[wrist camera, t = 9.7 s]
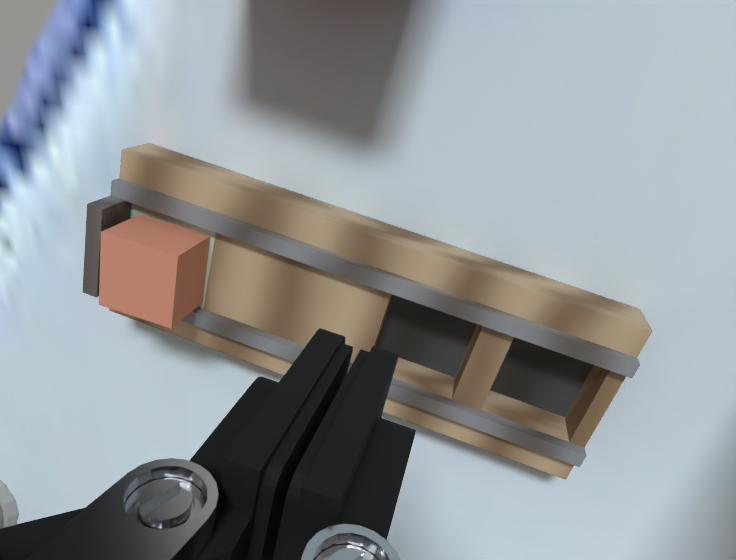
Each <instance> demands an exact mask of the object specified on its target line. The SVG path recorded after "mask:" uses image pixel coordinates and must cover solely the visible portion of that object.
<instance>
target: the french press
mask: <svg viewBox="0 0 736 560" xmlns="http://www.w3.org/2000/svg"><path fill="white" fill-rule="evenodd" d="M18 515H19V513H18V509H17V505H16V501H15V499H14V497H13V496H12V494H11V493H10V491H9V490H8V488H7V487H6V485H5V484H4V483H3V482H2V481H1V480H0V529H1V528H5V527H9V526H13V525H16V523H17V519H18Z"/></svg>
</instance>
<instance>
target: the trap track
mask: <svg viewBox="0 0 736 560" xmlns="http://www.w3.org/2000/svg"><path fill="white" fill-rule="evenodd" d="M140 214H142V215H145V216H148V217H152V218H155V219H158V220H161V221H165V222H168V223H171V224H174V225H177V226H181V227H184V228H187V229H190V230H193V231H197V232H200V233H203V234H206V235H209V236H211V237H210V245H209V253H208V262H207V270H206V279H205V287H204V296H203V303H201V304H200V305H199V306H198V307H197V308H195V309H194V310H193V311H192V312H191V313H189V314H188V315H187V316H186V317H185V318H183V319H182V320H181V321H180V322H179V323H178V324H176V325H175V326H174V327H173V328H172V329H171V328H168V327H165V326H162V325H159V324H156V323H153V322H150V321H147V320H144V319H141V318H138V317H135V316H132V315H129V314H126V313H123V312H120V311H117V310H114V309H111V308H109V310H110V311H112V312H115V313H118V314H121V315H123V316H126V317H129V318H131V319H134V320H137V321H139V322H142V323H145V324H148V325H150V326H153V327H156V328H158V329H161V330H164V331H166V332H169V333H172V334H174V335H177V336H180V337H183V338H185V339H188V340H191V341H193V342H196V343H199V344H201V345H204V346H207V347H210V348H212V349H215V350H218V351H220V352H223V353H226V354H228V355H231V356H234V357H237V358H239V359H242V360H245V361H247V362H250V363H253V364H255V365H258V366H261V367H263V368H266V369H269V370H272V371H274V372H277V373H280V374H282V375H285V374H286V372H287V371H288V370H289V368H290V367H291V365H292V364H293V363H294V361H295V360H296V359H297V357H298V356H299V355H300V353H301V352H302V350H303V349H304V348H305V346H306V345H307V344H308V342H309V341H310V340H311V338H312V337H313V335H314V334H315V333H316V331H317V330H318V329H319V328H321V329H324V330H327V331H330V332H333V333H336V334H339V335H342V336H345V338H346V339H345V344H347V345H350V346H353V352H352V356H351V360H350V364H349V368H348V371H349V370H350V368H351V366H352V364H353V362H354V360H355V358H356V356H357V355H358V353H359V351H360V349H362V350H365V351H368V352H370V350H371V348H372V346H376V347H379V348H382V349H385V350H388V351H391V352H394V353H397V354H399V357H398V360H397V364H396V367H395V371H394V374H393V378H392V381H391V385H390V388H389V392H388V395H387V399H386V402H385V405H384V409H383V412H385V413H388V414H390V415H393V416H396V417H398V418H401V419H404V420H406V421H409V422H412V423H414V424H417V425H420V426H423V427H425V428H428V429H431V430H433V431H436V432H439V433H441V434H444V435H447V436H450V437H452V438H455V439H458V440H460V441H463V442H466V443H468V444H471V445H474V446H476V447H479V448H482V449H485V450H487V451H490V452H493V453H495V454H498V455H501V456H503V457H506V458H509V459H512V460H514V461H517V462H520V463H522V464H525V465H528V466H530V467H533V468H536V469H539V470H541V471H544V472H547V473H549V474H552V475H555V476H557V477H560V478H563V479H565V480H566V478H567V476H568V475H569V473H570V471H571V470H572V468H573V466H574V465H575V466H578V467H580V465H581V464H582V462H583V460H584V459H585V457H586V453H585V448H584V447H585V446H586V444H587V442H588V440H589V439H590V437H591V435H592V434H593V432H594V430H595V429H596V427H597V425H598V423H599V422H600V420H601V418H602V417H603V415H604V413H605V411H606V410H607V408H608V406H609V405H610V403H611V401H612V399H613V398H614V396H615V394H616V393H617V391H618V389H619V387H620V386H621V384H622V382H623V381H624V379H625V377H626V376H627V377H629V378H632V377H633V376H634V374H635V372H636V371H637V369H638V367H639V366H640V364H639V361H638V359H637V357H638V355H639V353H640V351H641V350H642V348H643V346H644V345H645V343H646V341H647V339H648V338H649V336H650V334H651V333H652V330H651V328H650V326H649V324H648V323H647V321H646V319H645V317H644V316H643V314H642V312H641V310H640V309H637V308H635V307H632V306H629V305H626V304H623V303H620V302H617V301H614V300H611V299H608V298H605V297H602V296H599V295H596V294H593V293H590V292H587V291H584V290H581V289H578V288H576V287H573V286H570V285H567V284H564V283H561V282H558V281H555V280H552V279H549V278H546V277H543V276H540V275H537V274H534V273H531V272H528V271H525V270H522V269H519V268H517V267H514V266H511V265H508V264H505V263H502V262H499V261H496V260H493V259H490V258H487V257H484V256H481V255H478V254H475V253H472V252H469V251H466V250H463V249H461V248H458V247H455V246H452V245H449V244H446V243H443V242H440V241H437V240H434V239H431V238H428V237H425V236H422V235H419V234H416V233H413V232H410V231H407V230H404V229H402V228H399V227H396V226H393V225H390V224H387V223H384V222H381V221H378V220H375V219H372V218H369V217H366V216H363V215H360V214H357V213H354V212H351V211H348V210H345V209H343V208H340V207H337V206H334V205H331V204H328V203H325V202H322V201H319V200H316V199H313V198H310V197H307V196H304V195H301V194H298V193H295V192H292V191H289V190H286V189H284V188H281V187H278V186H275V185H272V184H269V183H266V182H263V181H260V180H257V179H254V178H251V177H248V176H245V175H242V174H239V173H236V172H233V171H230V170H227V169H225V168H222V167H219V166H216V165H213V164H210V163H207V162H204V161H201V160H198V159H195V158H192V157H189V156H186V155H183V154H180V153H177V152H174V151H171V150H168V149H166V148H163V147H160V146H157V145H154V144H151V143H147V144H143V145H139V146H135V147H131V148H127V149H123V150H122V154H121V166H120V178H119V179H116V180H113V181H112V183H111V196H108V197H105V198H103V199H100V200H97V201H94V202H92V203H89V204H87V220H86V239H85V258H84V277H83V292H84V293H86V294H89V295H92V296H94V297H98V296H99V282H100V244H101V232H102V231H104V230H106V229H108V228H111V227H113V226H115V225H117V224H119V223H122V222H124V221H126V220H128V219H131V218H133V217H135V216H137V215H140ZM347 373H348V372H347Z"/></svg>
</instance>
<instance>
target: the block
mask: <svg viewBox="0 0 736 560" xmlns="http://www.w3.org/2000/svg"><path fill="white" fill-rule="evenodd" d="M210 237H211V236H209V235H206V234H203V233H200V232H197V231H193V230H190V229H187V228H184V227H181V226H177V225H174V224H171V223H168V222H165V221H161V220H158V219H155V218H152V217H148V216H145V215H142V214H140V215H137V216H135V217H133V218H131V219H128V220H126V221H124V222H122V223H119V224H117V225H115V226H113V227H111V228H108V229H106V230H104V231H102V232H101V244H100V282H99V305H102V306H105V307H108V308H111V309H114V310H117V311H120V312H123V313H126V314H129V315H132V316H135V317H138V318H141V319H144V320H147V321H150V322H153V323H156V324H159V325H162V326H165V327H168V328H171V329H172V328H173V327H174V326H175V325H176V324H178V323H179V322H180V321H181V320H182V319H183V318H185V317H186V316H187V315H188V314H189V313H191V312H192V311H193V310H194V309H195V308H197V307H198V306H199V305H200V304H201V303H203V296H204V287H205V279H206V270H207V262H208V253H209V245H210Z"/></svg>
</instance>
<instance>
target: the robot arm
mask: <svg viewBox="0 0 736 560" xmlns="http://www.w3.org/2000/svg"><path fill="white" fill-rule="evenodd" d="M345 339H346V338H345V336H342V335H339V334H336V333H333V332H330V331H327V330H324V329H321V328H319V329H318V330H317V331H316V333H315V334H314V335H313V337H312V338H311V340H310V341H309V342H308V344H307V345H306V346H305V348H304V349H303V350H302V352H301V353H300V355H299V356H298V357H297V359H296V360H295V361H294V363H293V364H292V365H291V367H290V368H289V370H288V371H287V372H286V374H285V375H284V376H283V378H282V379H281V381H280V382H279V383H278V382H276V381H273V380H270V379H267V378H264V377H258V378H257V379H256V380H255V381H254V382H253V383H252V385H251V386H250V387H249V388H248V389H247V391H246V392H245V393H244V394H243V396H242V397H241V398H240V399H239V401H238V402H237V403H236V404H235V405H234V407H233V408H232V409H231V410H230V412H229V413H228V414H227V415H226V417H225V418H224V419H223V420H222V421H221V423H220V424H219V425H218V426H217V428H216V429H215V430H214V431H213V433H212V434H211V435H210V436H209V437H208V439H207V440H206V441H205V442H204V444H203V445H202V446H201V447H200V449H199V450H198V451H197V452H196V453H195V455H194V456H193V457H192V458H191V460H190V461H188V460H183V459H174V458H169V459H160V460H154V461H151V462H148V463H145V464H142V465H140V466H138V467H137V468H135V469H134V470H132V471H130V472H129V473H127V474H126V475H125V476H124V477H122V478H121V479H120V480H119V481H117V482H116V483H115V484H114V485H113V486H111V487H110V488H109V489H108V490H106V491H105V492H104V493H103V494H102V495H100V496H99V497H98V498H97V499H95V500H94V501H93V502H92V503H91V504H89V505H88V506H87V507H86V508H83V509H78V510H74V511H70V512H66V513H62V514H58V515H54V516H50V517H46V518H42V519H38V520H33V521H29V522H25V523H21V524H17V525H13V526H9V527H5V528H1V529H0V560H400V558H399V556H398V554H397V552H396V551H395V549H394V548H393V547H392V546H391V545H390V543H389V542H388V541H387V536H388V532H389V529H390V525H391V521H392V518H393V514H394V510H395V506H396V503H397V499H398V495H399V492H400V488H401V484H402V480H403V477H404V473H405V469H406V466H407V462H408V458H409V454H410V451H411V447H412V443H413V440H414V436H415V432H416V430H413V429H411V428H408V427H405V426H402V425H399V424H396V423H393V422H390V421H388V420H385V419H382V418H381V416H382V412H383V409H384V405H385V402H386V399H387V395H388V392H389V388H390V385H391V381H392V378H393V374H394V371H395V367H396V364H397V360H398V357H399V354H397V353H394V352H391V351H388V350H385V349H382V348H379V347H376V346H372V348H371V350H370V352H368V351H365V350H362V349H360V351H359V353H358V355H357V356H356V358H355V360H354V362H353V364H352V366H351V368H350V370H349V371H348V368H349V364H350V360H351V356H352V352H353V346H350V345H347V344H345ZM347 372H348V373H347Z"/></svg>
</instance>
